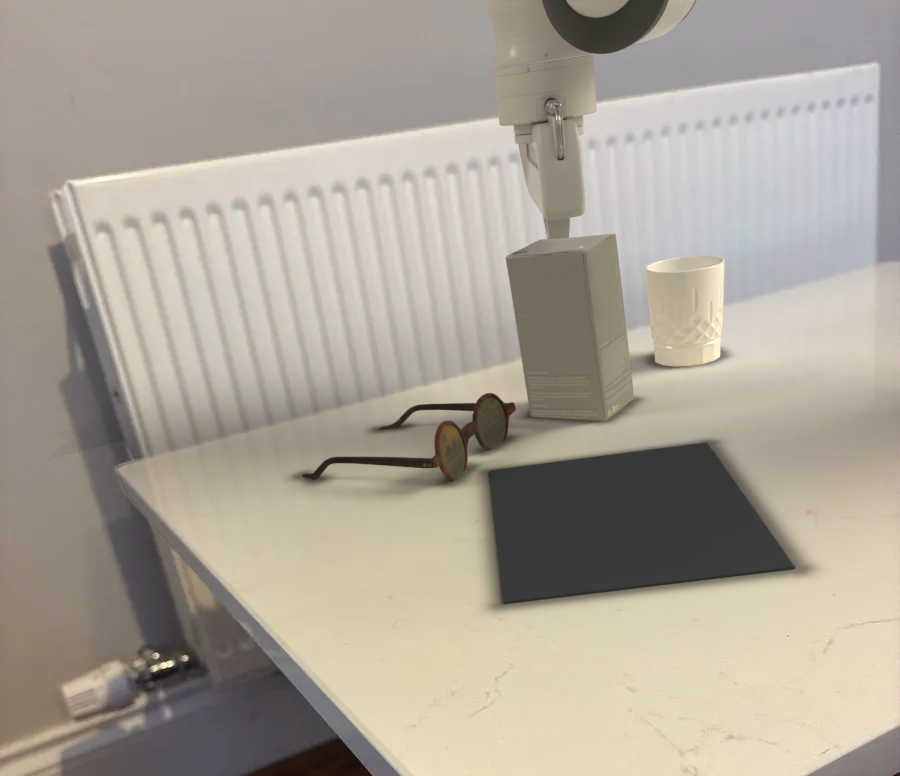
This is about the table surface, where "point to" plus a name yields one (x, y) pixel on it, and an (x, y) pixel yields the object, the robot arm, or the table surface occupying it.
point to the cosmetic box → (572, 327)
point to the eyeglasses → (446, 437)
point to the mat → (625, 524)
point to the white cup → (686, 309)
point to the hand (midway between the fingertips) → (559, 257)
